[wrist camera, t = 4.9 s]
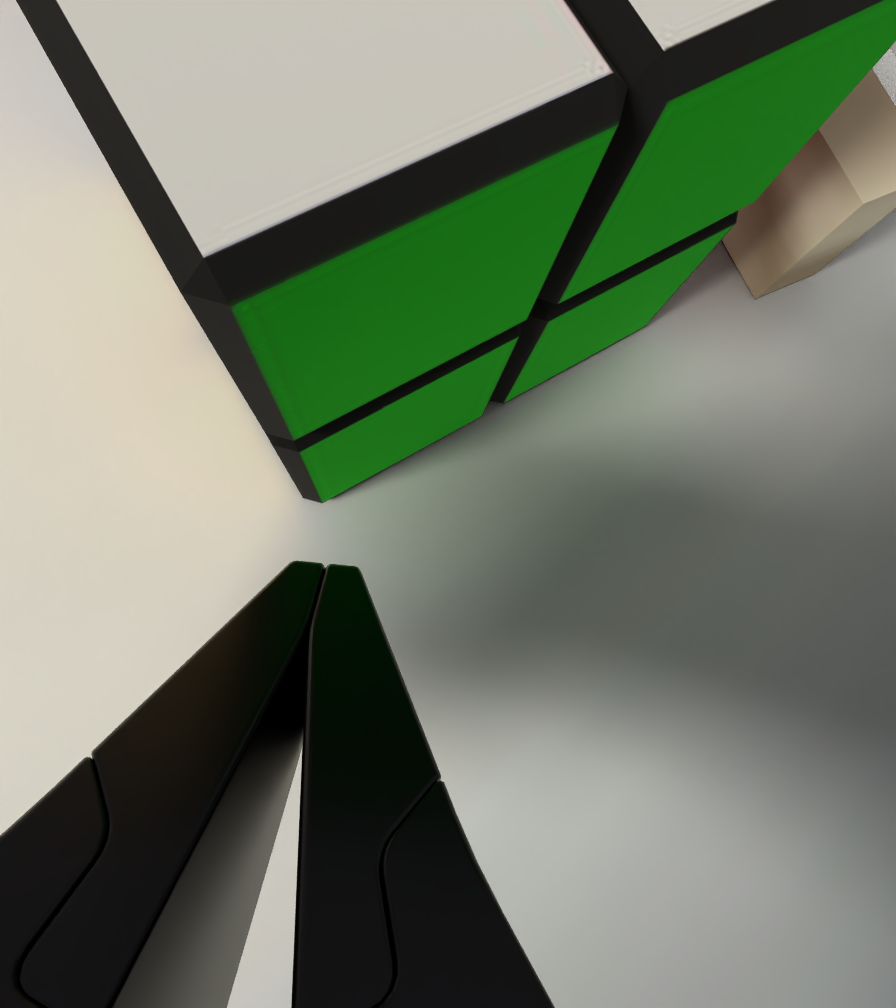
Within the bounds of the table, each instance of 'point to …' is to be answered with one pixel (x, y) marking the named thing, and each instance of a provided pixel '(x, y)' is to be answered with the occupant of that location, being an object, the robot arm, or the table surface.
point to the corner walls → (821, 195)
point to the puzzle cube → (439, 182)
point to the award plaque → (893, 48)
